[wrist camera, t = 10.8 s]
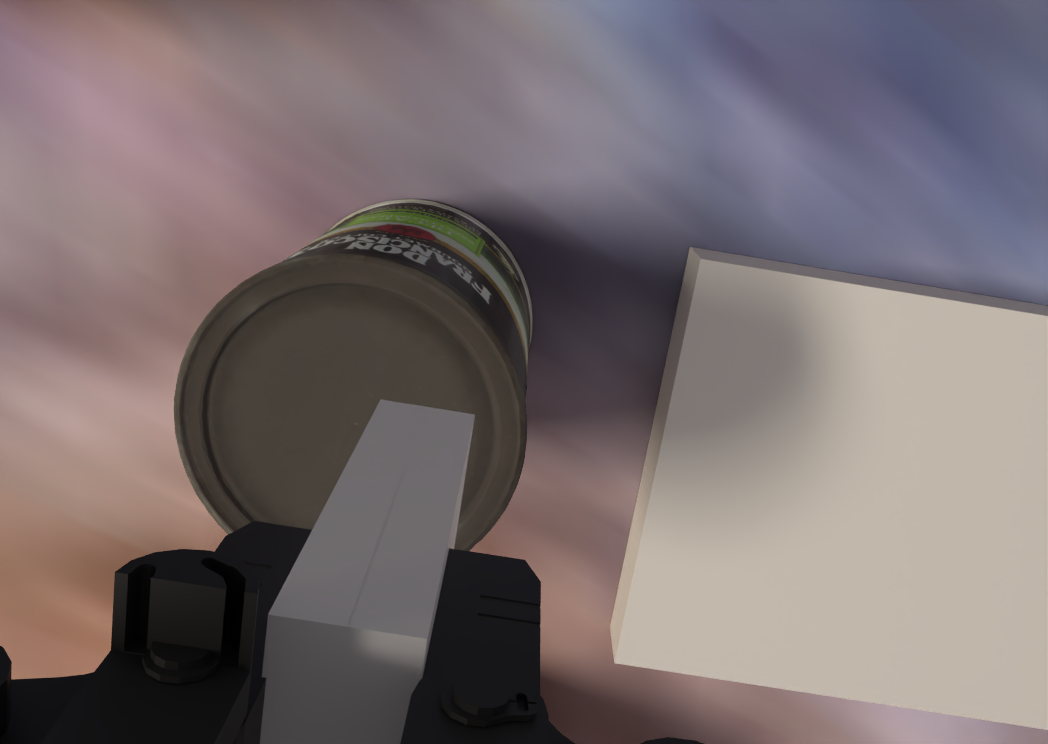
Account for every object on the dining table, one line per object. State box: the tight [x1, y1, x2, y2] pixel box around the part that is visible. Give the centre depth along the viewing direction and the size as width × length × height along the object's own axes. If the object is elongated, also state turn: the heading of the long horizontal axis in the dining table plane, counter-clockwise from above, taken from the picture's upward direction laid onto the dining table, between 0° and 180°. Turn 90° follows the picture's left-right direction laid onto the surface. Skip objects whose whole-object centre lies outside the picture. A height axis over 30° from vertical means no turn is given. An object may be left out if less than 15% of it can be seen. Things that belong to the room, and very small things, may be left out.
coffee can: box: [174, 199, 533, 551], centre depth 35 cm, size 10×10×14 cm
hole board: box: [610, 247, 1048, 730], centre depth 42 cm, size 18×28×3 cm, turn 81°
